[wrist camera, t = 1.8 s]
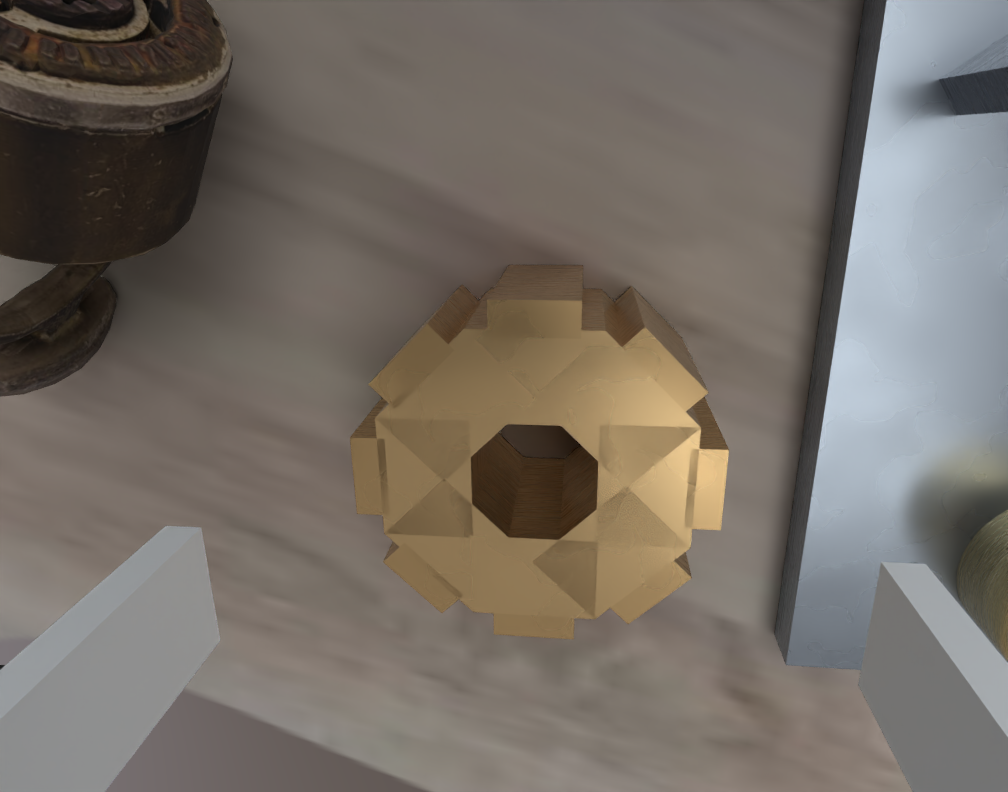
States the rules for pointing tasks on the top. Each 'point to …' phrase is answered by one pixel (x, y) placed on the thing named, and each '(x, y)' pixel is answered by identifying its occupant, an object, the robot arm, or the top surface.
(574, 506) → the gear
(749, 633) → the top surface
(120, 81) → the mechanical counter
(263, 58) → the top surface
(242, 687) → the top surface
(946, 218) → the carrier
